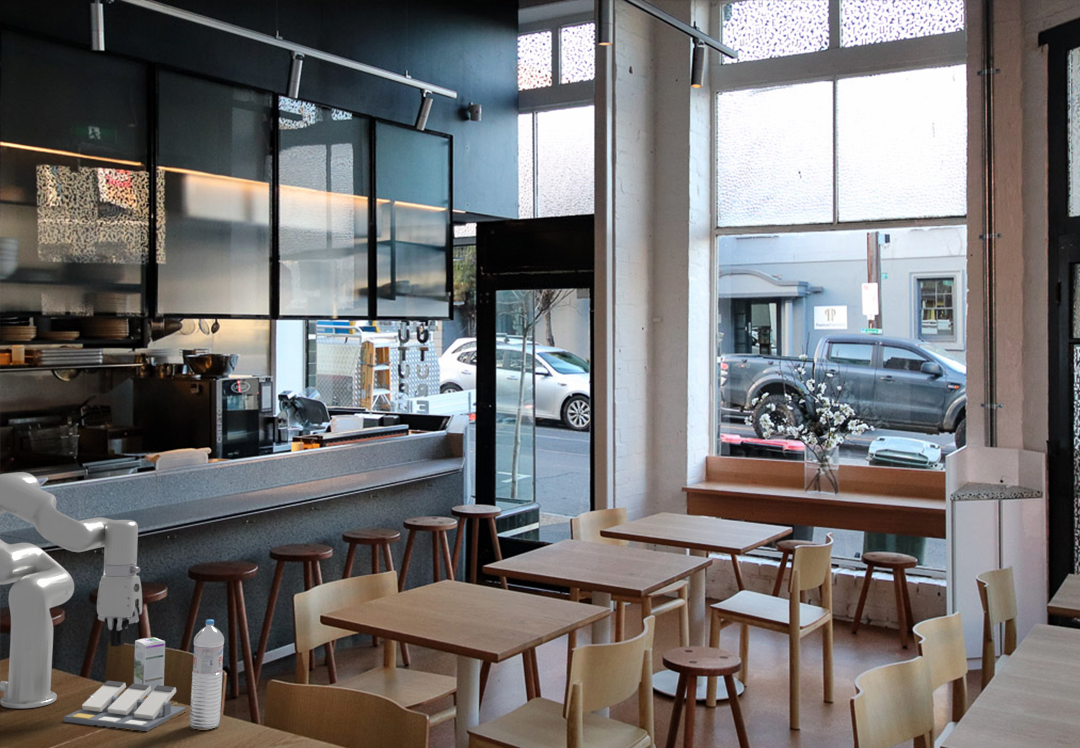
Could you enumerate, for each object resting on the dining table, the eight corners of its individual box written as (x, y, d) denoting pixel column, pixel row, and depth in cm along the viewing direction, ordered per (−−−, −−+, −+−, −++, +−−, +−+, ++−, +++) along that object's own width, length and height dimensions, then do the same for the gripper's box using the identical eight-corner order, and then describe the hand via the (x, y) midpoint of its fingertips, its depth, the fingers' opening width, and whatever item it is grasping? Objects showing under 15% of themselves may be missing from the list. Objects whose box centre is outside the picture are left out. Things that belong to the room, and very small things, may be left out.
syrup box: (164, 697, 265) (166, 640, 265) (141, 701, 260) (144, 643, 261) (153, 692, 269) (156, 636, 269) (131, 696, 264) (134, 639, 265)
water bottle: (210, 732, 239) (215, 624, 240) (183, 729, 240) (189, 621, 241) (225, 724, 246) (230, 618, 246) (199, 721, 247) (204, 616, 248)
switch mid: (108, 712, 245) (106, 707, 245) (132, 687, 254) (132, 682, 254) (127, 715, 244) (126, 709, 243) (151, 690, 253) (150, 684, 253)
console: (64, 721, 242) (65, 704, 243) (107, 702, 258) (108, 686, 258) (146, 732, 237) (147, 714, 238) (186, 712, 253) (186, 696, 253)
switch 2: (134, 717, 244) (133, 712, 243) (157, 689, 252) (156, 684, 252) (154, 719, 242) (152, 714, 242) (176, 691, 251) (175, 686, 251)
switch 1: (82, 709, 247) (81, 704, 246) (108, 684, 256) (107, 679, 255) (101, 711, 245) (100, 706, 245) (126, 687, 255) (125, 682, 254)
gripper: (155, 570, 256) (153, 644, 256) (103, 566, 260) (100, 639, 259) (137, 575, 249) (134, 651, 249) (83, 571, 253) (80, 646, 252)
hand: (117, 645), depth 254 cm, fingers closed
